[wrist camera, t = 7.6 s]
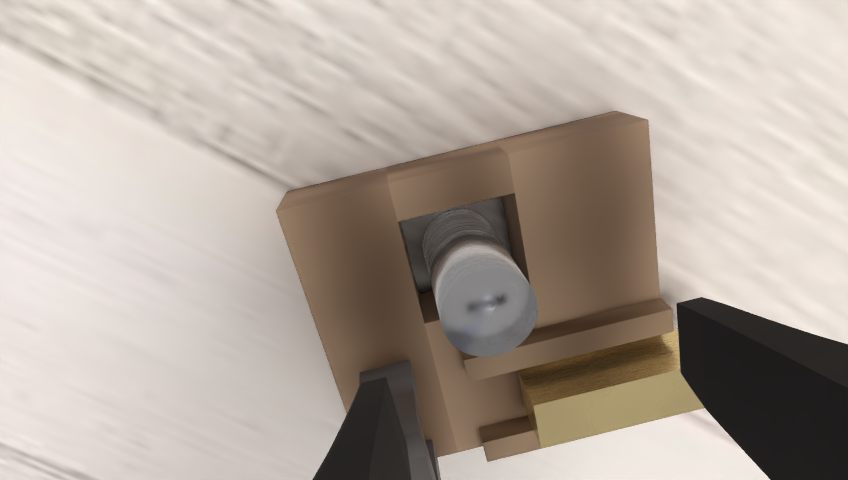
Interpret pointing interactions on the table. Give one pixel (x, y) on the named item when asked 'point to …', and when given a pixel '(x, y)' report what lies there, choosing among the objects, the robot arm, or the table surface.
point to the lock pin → (606, 390)
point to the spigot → (477, 285)
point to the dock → (532, 252)
